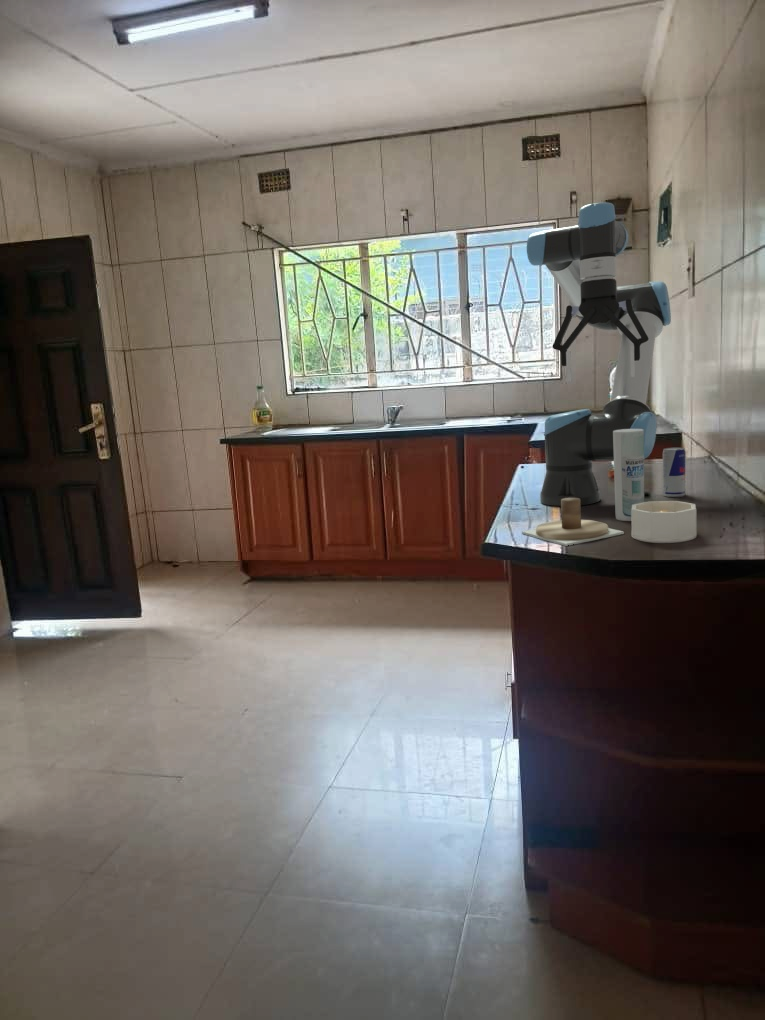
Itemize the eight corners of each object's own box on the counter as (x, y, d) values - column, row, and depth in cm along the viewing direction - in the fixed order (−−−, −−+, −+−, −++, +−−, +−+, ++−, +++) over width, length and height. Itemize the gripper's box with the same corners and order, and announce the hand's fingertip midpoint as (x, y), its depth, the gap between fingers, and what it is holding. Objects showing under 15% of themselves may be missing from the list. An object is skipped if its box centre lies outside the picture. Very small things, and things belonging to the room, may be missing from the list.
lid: (521, 531, 163) (520, 500, 162) (576, 520, 169) (575, 490, 168) (565, 543, 150) (564, 509, 149) (623, 531, 156) (623, 498, 155)
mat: (522, 533, 164) (521, 531, 163) (576, 522, 170) (576, 520, 170) (566, 546, 150) (566, 543, 150) (623, 533, 156) (623, 531, 156)
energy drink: (687, 496, 188) (687, 449, 186) (665, 497, 189) (664, 450, 187) (683, 493, 194) (682, 446, 191) (661, 494, 195) (660, 448, 192)
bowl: (618, 535, 155) (617, 507, 154) (663, 525, 160) (663, 498, 159) (663, 546, 144) (663, 515, 143) (710, 535, 149) (710, 506, 148)
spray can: (634, 513, 174) (632, 428, 170) (651, 518, 168) (649, 429, 164) (609, 517, 172) (607, 430, 169) (625, 522, 166) (623, 432, 163)
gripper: (537, 285, 163) (541, 383, 167) (659, 271, 154) (660, 375, 158) (542, 287, 170) (546, 381, 174) (659, 274, 161) (660, 373, 165)
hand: (600, 378), depth 166 cm, fingers open, 13 cm apart
